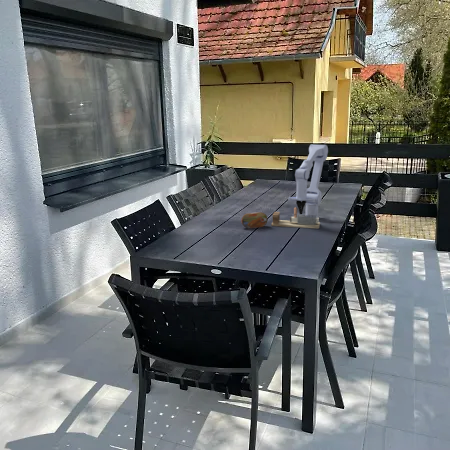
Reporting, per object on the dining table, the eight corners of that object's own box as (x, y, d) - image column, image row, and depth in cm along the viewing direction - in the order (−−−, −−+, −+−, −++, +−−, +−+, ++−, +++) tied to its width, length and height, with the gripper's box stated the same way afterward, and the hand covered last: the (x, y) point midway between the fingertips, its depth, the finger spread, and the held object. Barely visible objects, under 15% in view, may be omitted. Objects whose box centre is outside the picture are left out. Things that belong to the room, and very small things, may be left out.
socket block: (274, 220, 271) (274, 211, 269) (279, 220, 270) (279, 212, 268) (272, 223, 264) (272, 214, 263) (277, 223, 263) (277, 215, 262)
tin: (242, 229, 258) (242, 214, 256) (240, 227, 261) (240, 213, 259) (267, 226, 262) (267, 212, 260) (265, 225, 265) (266, 211, 263)
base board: (273, 221, 272) (273, 219, 272) (319, 223, 266) (319, 222, 266) (271, 225, 263) (271, 224, 263) (318, 228, 256) (318, 226, 256)
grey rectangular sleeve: (298, 222, 266) (298, 214, 265) (316, 223, 264) (316, 215, 263) (297, 224, 261) (297, 216, 260) (315, 225, 259) (315, 217, 258)
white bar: (290, 220, 266) (290, 206, 264) (318, 221, 262) (319, 207, 260) (289, 221, 263) (290, 207, 261) (318, 223, 259) (318, 209, 257)
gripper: (287, 191, 256) (287, 214, 260) (314, 192, 253) (313, 216, 256) (289, 188, 263) (288, 212, 267) (315, 189, 259) (314, 213, 263)
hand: (300, 213), depth 262 cm, fingers closed
